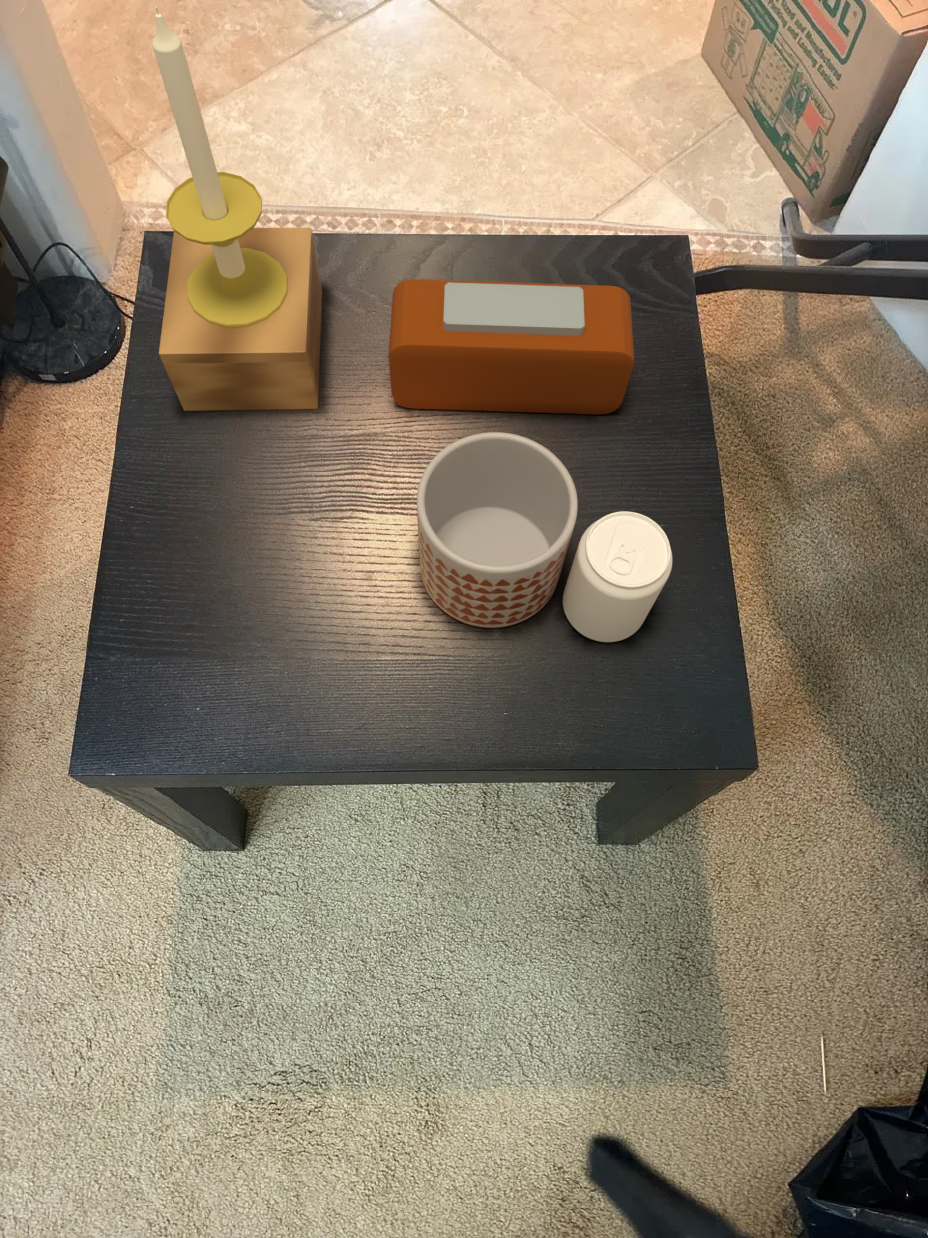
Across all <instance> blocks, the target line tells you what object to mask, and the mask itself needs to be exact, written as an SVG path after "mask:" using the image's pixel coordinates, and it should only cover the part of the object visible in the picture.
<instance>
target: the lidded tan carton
mask: <svg viewBox="0 0 928 1238" xmlns="http://www.w3.org/2000/svg"><path fill="white" fill-rule="evenodd" d="M238 242H239V246H240V248H249V249H253V250H257V251H261V252H265V253H266V254H268V255H269V256H270V257H272V258H273V259H275V260H276V261H278V262H279V263H280V265H281V267H282V268H283V270H284V272H285V274H286V275H287V282H288V293H287V295H286V297H285V299H284V301H283V303H282V305H281V307H280V308H279V309H278V310H277V311H276V312H274V313H273V314H272V315H271V316H270V317H269V318H267V319H266V320H263V321H261V322H258V323H255V324H253V325H250V326H247V327H229V328H227V327H223V326H220V325H216V324H212V323H209V322H207V321H206V320H204V319H203V318H202V317H200V316H199V315H198V314H196V313H195V312H194V310H193V308H192V306H191V304H190V302H189V301H188V299H187V281H188V279H189V277H190V275H191V274H192V272H193V270H194V268H195V267H196V266H197V265H198V264H199V263H201V262H202V261H203V260H204V259H206V258H207V257H208V256H209V255H212V254H214V253H213V249H212V246H211V245H203V244H200V243H196V242H192V241H188V240H186V239H185V238H184V237H182V236H181V235H179V234H178V233H176V232H175V231H174V230H173V236H172V244H171V252H170V260H169V269H168V274H167V275H168V276H167V284H166V291H165V298H164V299H165V300H164V309H163V316H162V325H161V332H160V339H159V348H158V350H159V351H158V355H159V357H160V360H161V362H162V364H163V367H164V369H165V371H166V374H167V376H168V378H169V381H170V383H171V385H172V387H173V390H174V392H175V393H176V396H177V398H178V401H179V403H180V405H181V407H182V409H183V411H184V412H195V411H197V412H201V411H261V410H262V411H264V410H265V411H267V410H273V411H274V410H318V409H319V390H320V366H321V363H320V362H321V340H322V339H321V338H322V337H321V335H322V311H323V310H322V307H323V288H322V287H323V286H322V281H321V276H320V270H319V265H318V259H317V252H316V247H315V241H314V235H313V230H312V227H254V228H253V229H252V230H250V231H249V232H248V233H247V234H245V235H244V236H243V237H241V238H239V239H238Z"/></svg>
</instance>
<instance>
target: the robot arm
mask: <svg viewBox="0 0 928 1238" xmlns="http://www.w3.org/2000/svg"><path fill="white" fill-rule="evenodd" d="M9 171H10V167H9V165H8V162H6V160H5V159H4V158H3V157H2V156H1V155H0V206H1V205H2V202H3V201H2V200H3V196H4V192H5V187H6V184H7V180H8V175H9ZM6 250H7V239H6V237H5V235H4V233H3V231H2V230H0V326H6V325H7V326H8V325H9V326H10V325H11V324H12V319H13V315H14V310H15V305H16V301H17V296H18V291H19V284H18V282H17V281H16V279H15V278H14V276H13V274H12V272H11V271H10V268H8V265H7V264H6V262H5V261H4V258H5V254H6Z"/></svg>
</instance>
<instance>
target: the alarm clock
mask: <svg viewBox="0 0 928 1238" xmlns="http://www.w3.org/2000/svg"><path fill="white" fill-rule="evenodd" d="M631 303H632V302H631V297H630V294H629V293H628V292H627V290H625V289H624V288H622V287H619V286H615V285H599V284H598V285H597V284H596V285H595V284H594V285H593V284H569V283H543V282H542V283H540V282H539V283H537V282H514V281H513V282H510V281H482V280H456V279H455V280H450V279H423V278H421V279H420V278H409V279H404V280H402V281H400V282H398V283H397V285H396V286H395V287H394V288H393V291H392V300H391V313H390V314H391V315H390V316H391V317H390V327H389V346H388V366H389V367H388V368H389V377H390V391H391V395H392V399H393V400H394V402H395V403H396V404H398V405H399V406H401V407H404V408H407V409H415V410H416V409H419V410H452V411H480V412H482V411H483V412H508V413H509V412H510V413H511V412H512V413H542V414H543V413H544V414H548V413H549V414H570V415H571V414H573V415H608V414H611V413H613V412H615V411H616V410H618V409H619V408H620V407H621V405H622V404H623V401H624V398H625V395H626V391H627V387H628V385H629V381H630V378H631V375H632V371H633V369H634V366H635V350H634V336H633V335H634V334H633V318H632V306H631Z"/></svg>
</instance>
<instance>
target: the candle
mask: <svg viewBox="0 0 928 1238" xmlns="http://www.w3.org/2000/svg"><path fill="white" fill-rule="evenodd" d="M155 11H156V14H155V24H156V25H155V26H156V28H155V29H156V30H155V36H154V37H153V39H152V42H151V45H152V46H151V47H152V50H153V53H154V56H155V59H156V64H157V66H158V69H159V73H160V76H161V79H162V82H163V85H164V89H165V93H166V95H167V99H168V102H169V105H170V108H171V112H172V115H173V118H174V121H175V125H176V129H177V132H178V134H179V137H180V141H181V145H182V148H183V151H184V155H185V157H186V160H187V164H188V167H189V170H190V173H191V177H188V178H187V179H185V180H184V181H183V182H181V183H180V184H179V185H177V186H176V187H175V188H174V189H173V190H172V192H171V194H170V196H169V197H168V199H167V201H166V206H165V207H166V210H165V216H166V219H167V221H168V222H169V225H170V226H171V229H172V230H173V232H174V231H175V232H176V233H178V234H179V235H181V236H182V237H184V238H185V239H186V240H188V241H192V242H196V243H200V244H203V245H211V246H212V249H213V253H214V254H212V255H209V256H208V257H207V258H206V259H204V260H203V261H202V262H201V263H199V264H198V265H197V266H196V267H195V268H194V270H193V272H192V274H191V275H190V277H189V279H188V281H187V299H188V301H189V302H190V304H191V306H192V308H193V310H194V312H195V313H196V314H198V315H199V316H200V317H202V318H203V319H204V320H206V321H207V322H209V323H212V324H216V325H220V326H223V327H227V328H229V327H247V326H250V325H253V324H255V323H258V322H261V321H263V320H266V319H267V318H269V317H270V316H271V315H272V314H273V313H274V312H276V311H277V310H278V309H279V308H280V307H281V305H282V303H283V301H284V299H285V297H286V295H287V293H288V282H287V275H286V274H285V272H284V270H283V268H282V267H281V265H280V263H279V262H278V261H276V260H275V259H273V258H272V257H270V256H269V255H268V254H266V253H265V252H261V251H257V250H253V249H249V248H240V246H239V242H238V239H239V238H241V237H243V236H244V235H245V234H247V233H248V232H249V231H250V230H252V229H253V228H256V225H257V223H258V221H259V220H260V218H261V216H262V214H263V198H262V196H261V193H260V192H259V190H258V188H257V187H256V185H255V184H254V183H252V182H251V181H249V180H248V179H246V178H245V177H243V176H242V175H238V174H235V173H231V172H226V171H218V170H217V167H216V163H215V159H214V155H213V151H212V148H211V145H210V141H209V137H208V133H207V130H206V125H205V122H204V118H203V115H202V112H201V109H200V105H199V100H198V97H197V93H196V89H195V86H194V82H193V79H192V75H191V71H190V68H189V65H188V60H187V56H186V53H185V49H184V46H183V43H182V42H183V41H182V40H181V38H180V37H179V35H177V34H175V33H174V32H173V31H172V29H170V27H169V26H168V24H167V22H166V20H165V19H164V17H163V15H162V13H159V9H158V6H155Z"/></svg>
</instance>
